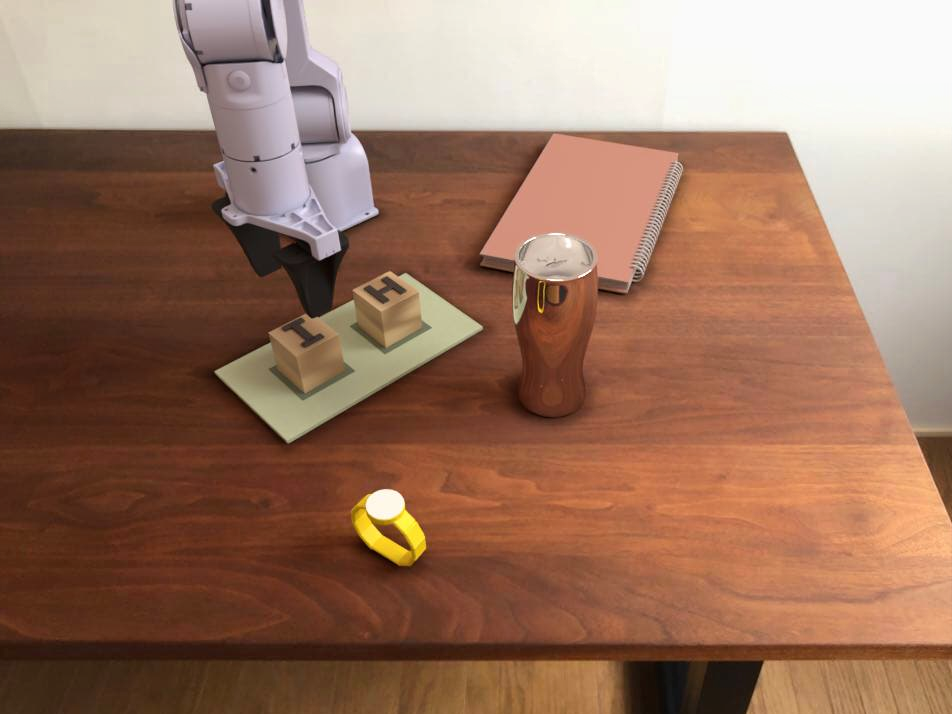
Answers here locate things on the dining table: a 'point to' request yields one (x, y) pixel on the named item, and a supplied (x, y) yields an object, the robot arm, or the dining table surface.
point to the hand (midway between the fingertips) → (293, 291)
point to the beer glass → (554, 319)
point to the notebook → (591, 204)
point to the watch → (386, 511)
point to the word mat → (362, 361)
